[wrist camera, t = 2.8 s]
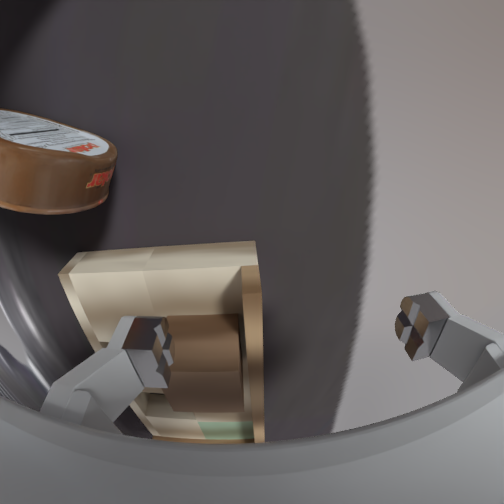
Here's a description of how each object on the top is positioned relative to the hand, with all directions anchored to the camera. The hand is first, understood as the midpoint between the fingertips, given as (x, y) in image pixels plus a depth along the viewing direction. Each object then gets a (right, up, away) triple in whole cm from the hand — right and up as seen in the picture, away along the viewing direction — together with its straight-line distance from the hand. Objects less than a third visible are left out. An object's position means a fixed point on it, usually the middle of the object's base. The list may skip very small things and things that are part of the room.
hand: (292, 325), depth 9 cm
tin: (-15, +10, +4) cm, 19 cm away
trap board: (-7, -8, +14) cm, 18 cm away
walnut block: (-4, -3, +8) cm, 10 cm away
